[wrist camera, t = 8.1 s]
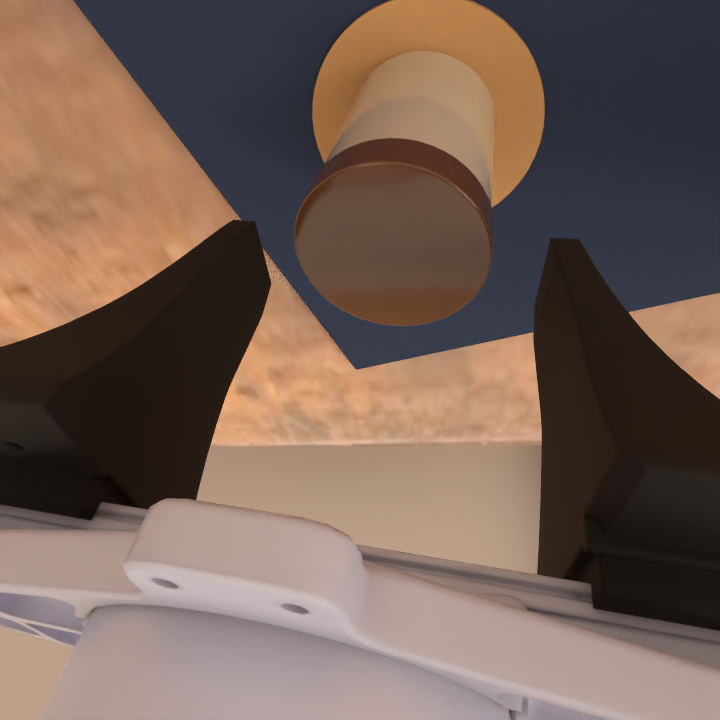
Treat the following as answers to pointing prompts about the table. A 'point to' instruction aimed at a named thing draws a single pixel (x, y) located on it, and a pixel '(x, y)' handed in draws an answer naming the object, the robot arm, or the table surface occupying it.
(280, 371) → the table surface
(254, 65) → the desk pad
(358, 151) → the jar
